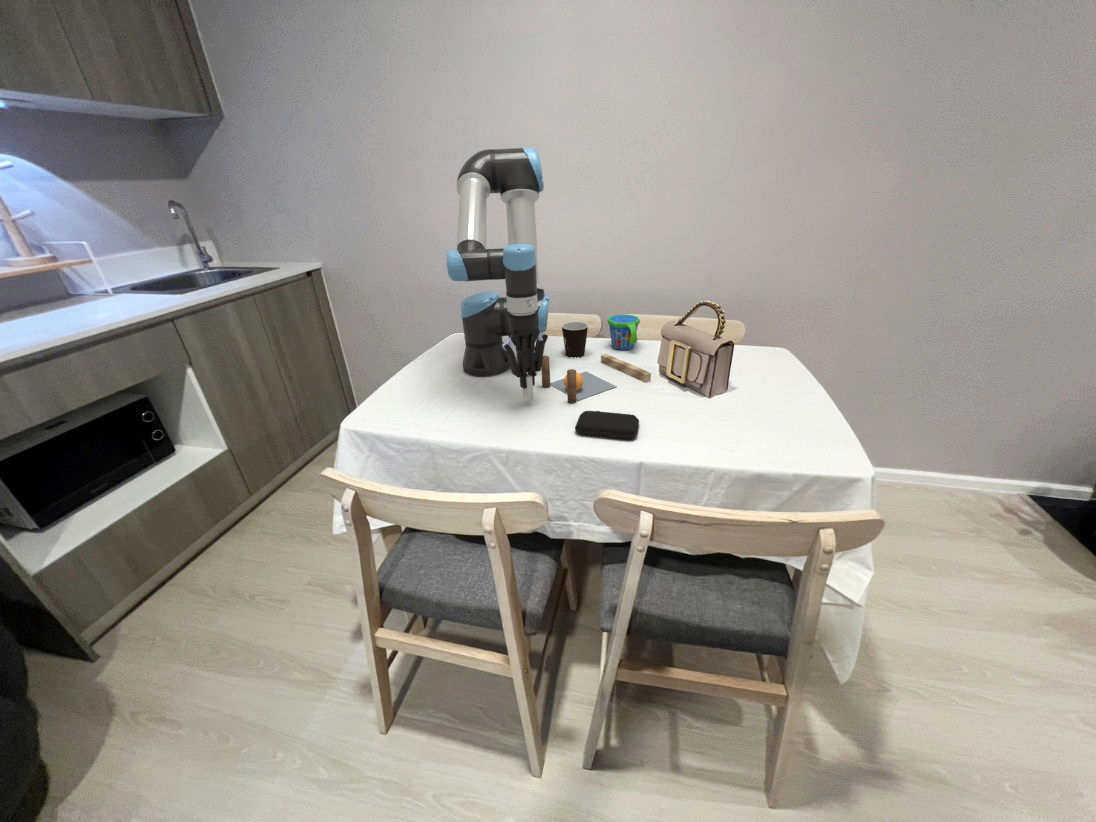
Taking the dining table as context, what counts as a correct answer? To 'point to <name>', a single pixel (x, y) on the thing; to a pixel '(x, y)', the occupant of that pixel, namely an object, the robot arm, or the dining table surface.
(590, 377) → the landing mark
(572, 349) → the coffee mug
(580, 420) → the carrying case or bag
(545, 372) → the left post
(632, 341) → the snack cup
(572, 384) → the right post
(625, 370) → the stopper wall
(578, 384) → the ball
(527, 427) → the dining table surface
